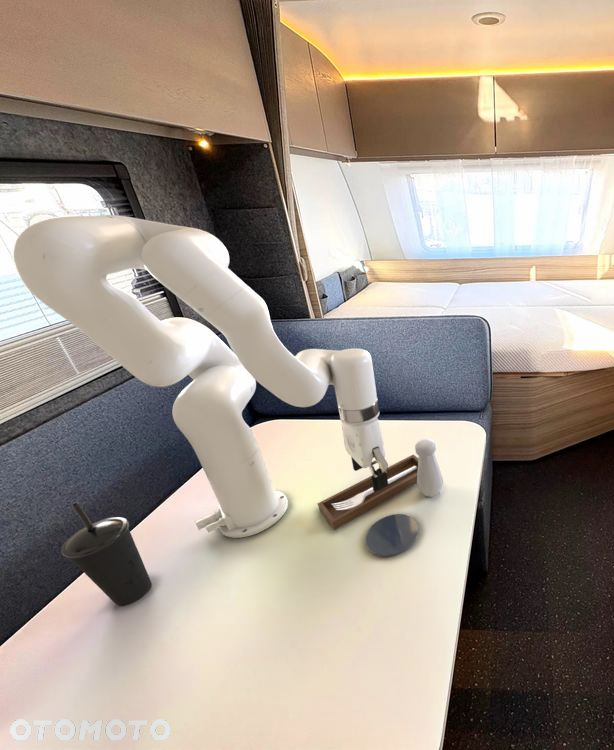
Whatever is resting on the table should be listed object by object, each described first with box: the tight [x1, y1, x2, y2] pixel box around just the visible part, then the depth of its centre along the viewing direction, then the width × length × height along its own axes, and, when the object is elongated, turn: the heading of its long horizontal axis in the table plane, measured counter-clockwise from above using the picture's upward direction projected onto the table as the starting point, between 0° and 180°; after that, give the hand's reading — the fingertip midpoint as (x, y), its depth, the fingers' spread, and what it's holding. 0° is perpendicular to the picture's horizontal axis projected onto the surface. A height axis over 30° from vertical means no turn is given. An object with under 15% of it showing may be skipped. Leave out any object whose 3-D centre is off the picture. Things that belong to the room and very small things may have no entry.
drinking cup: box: [60, 502, 153, 607], centre depth 62 cm, size 8×8×20 cm
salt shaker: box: [414, 438, 444, 498], centre depth 84 cm, size 6×6×13 cm
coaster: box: [365, 513, 420, 558], centre depth 75 cm, size 10×10×1 cm
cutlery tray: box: [317, 453, 419, 531], centre depth 86 cm, size 24×8×2 cm, turn 134°
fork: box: [332, 466, 417, 510], centre depth 86 cm, size 3×20×2 cm, turn 134°
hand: (370, 477), depth 85 cm, fingers open, 8 cm apart
